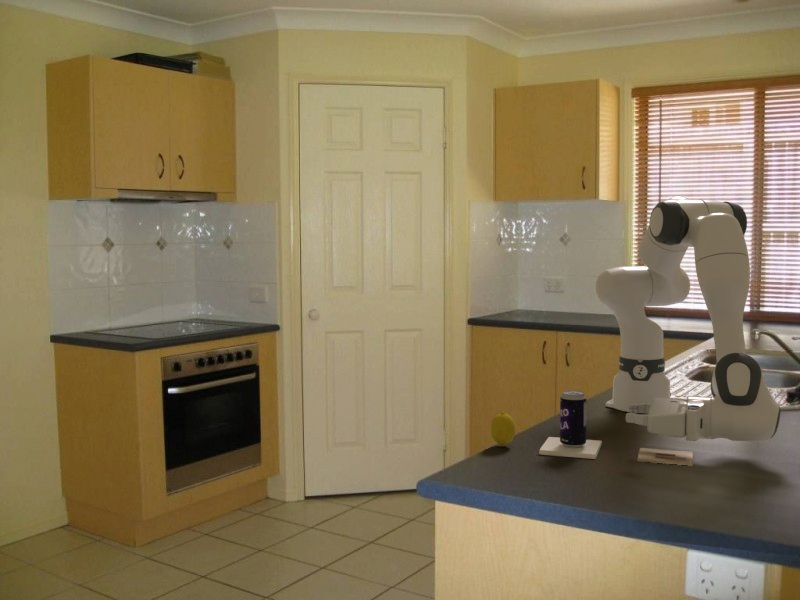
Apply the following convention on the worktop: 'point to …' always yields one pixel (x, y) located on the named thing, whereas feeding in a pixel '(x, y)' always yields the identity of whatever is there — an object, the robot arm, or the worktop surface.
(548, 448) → the mat
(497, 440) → the lemon
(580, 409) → the beverage can
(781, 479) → the worktop surface
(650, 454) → the pad
